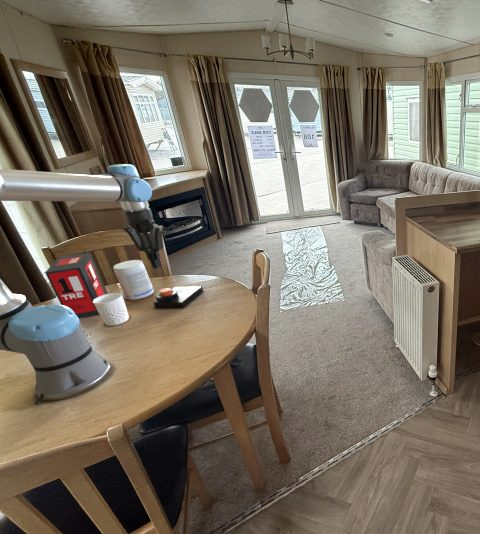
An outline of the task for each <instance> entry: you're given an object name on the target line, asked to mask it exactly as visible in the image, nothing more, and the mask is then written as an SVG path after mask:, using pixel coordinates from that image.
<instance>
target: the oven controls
mask: <svg viewBox="0 0 480 534" xmlns="http://www.w3.org/2000/svg"><path fill="white" fill-rule="evenodd" d="M171 290H172V293H173V294H171V295H169V296H164V297H161V296H160V293H159V292H158V293H156V294H155V301H153V302H152V303H153V306H154V309H184V308H186V307H187V306H188V305H190V303H192V302H193V301H194V300H195V299H196V298H198V297H200V295H201V294H202V293H204V288H203V286H202V285H201V286H200V285H198V286H197V285H194V286H193V285H191V286H190V285H189V286H188V285H187V286H186V285H184V286H183V285H182V286H179V285H177V286H174V287H173V288H171Z"/></svg>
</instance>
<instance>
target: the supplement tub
mask: <svg viewBox="0 0 480 534" xmlns="http://www.w3.org/2000/svg"><path fill="white" fill-rule="evenodd" d="M112 269H113V273H114V274H115V277H116V279H117V281H118V283H119V286H120V288H121V290H122V293H123V295H124V297H125V298H126V299H127V300H130V301H135V300H137V301H138V300H141V299H145V298H147V297H149V296H151V295H153V293H154V291H155V290H154V286H153V284H152V282H151V279H150V276H149V274H148V272H147V269H146V266H145V265H144V262H143V261H142V260H140V259H130V260H126V261H122V262H119V263H117V264H114V265H113V268H112Z"/></svg>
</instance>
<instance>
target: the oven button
mask: <svg viewBox="0 0 480 534" xmlns="http://www.w3.org/2000/svg"><path fill="white" fill-rule="evenodd" d="M171 289H172V288H171V287H165V288H162V289H160V290H159V291H158V293H160V296H161V297H164V296H169V295H171V294H173V293H172V290H171Z"/></svg>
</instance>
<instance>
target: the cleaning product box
mask: <svg viewBox="0 0 480 534" xmlns="http://www.w3.org/2000/svg"><path fill="white" fill-rule="evenodd" d="M44 274H45V275H46V277H47V279H48V281H49V284H50V285H51V287H52V289H53V291H54V293H55V295H56V298H57V299H58V301H59V303H60V305H63V306H67V307H69V308H71V309H72V310H73V311H74V313H75V315H77V317H78V318H79V319H83V318H88V317H92V316H94V317H95V316H98V315H100V314H99V312H98V311H97V309H96V307H95V305H94V303H93V300H94V299H96V298H97V297H100V296H102V295H105V294H109V293H108V290H107V288H106V286H105V283H104V282H103V279H102V276H101V274H100V272H99V270H98V267H97V265H96V263H95V260H94V258H93V256H92V253H91V252H86V253H85V252H84V253H78V254H69V255H62V256H58V257H57V259H55V261H54V262H53V263H52V264H51V265H50V266H49V267H48V269H47V270H46V271H45V272H44Z"/></svg>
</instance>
